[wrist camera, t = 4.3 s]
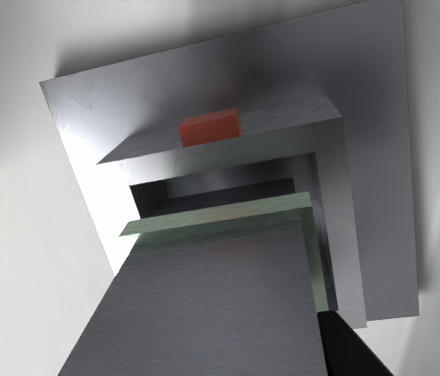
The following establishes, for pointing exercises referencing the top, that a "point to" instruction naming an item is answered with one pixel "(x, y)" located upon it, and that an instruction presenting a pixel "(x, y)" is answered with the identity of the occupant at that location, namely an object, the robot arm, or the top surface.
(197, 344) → the column
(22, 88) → the top surface
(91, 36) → the top surface
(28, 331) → the top surface
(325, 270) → the stand base
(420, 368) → the top surface
